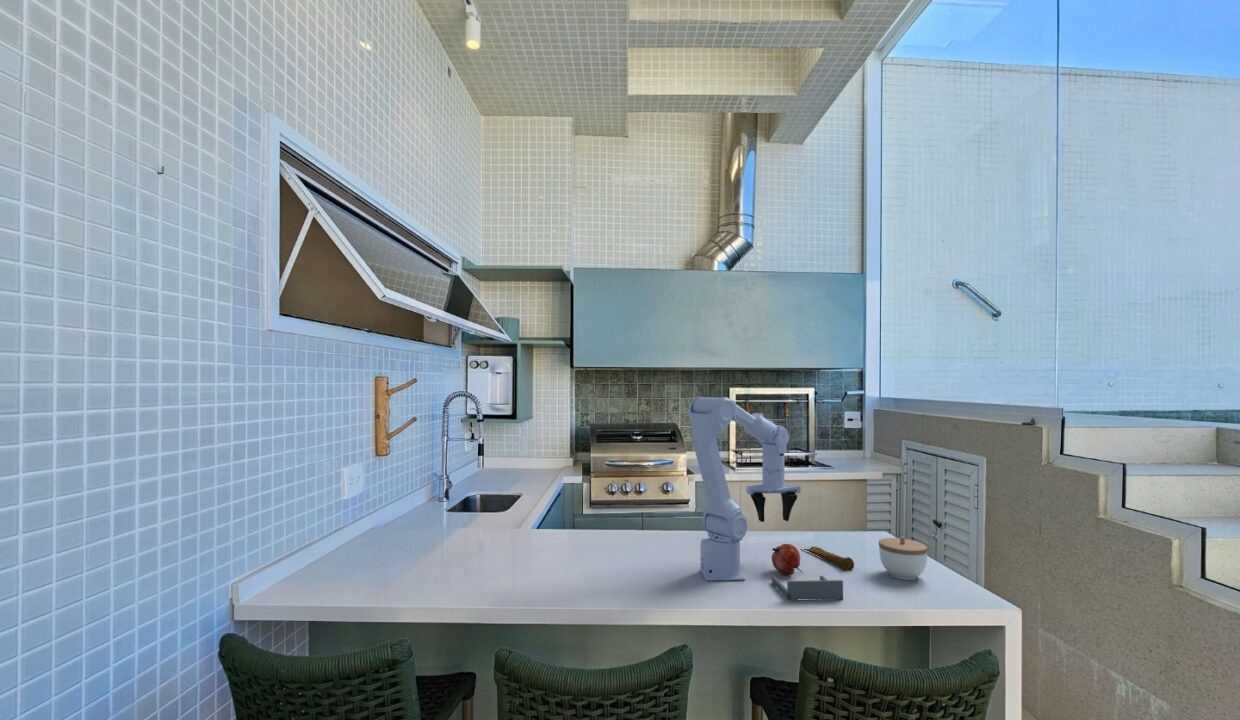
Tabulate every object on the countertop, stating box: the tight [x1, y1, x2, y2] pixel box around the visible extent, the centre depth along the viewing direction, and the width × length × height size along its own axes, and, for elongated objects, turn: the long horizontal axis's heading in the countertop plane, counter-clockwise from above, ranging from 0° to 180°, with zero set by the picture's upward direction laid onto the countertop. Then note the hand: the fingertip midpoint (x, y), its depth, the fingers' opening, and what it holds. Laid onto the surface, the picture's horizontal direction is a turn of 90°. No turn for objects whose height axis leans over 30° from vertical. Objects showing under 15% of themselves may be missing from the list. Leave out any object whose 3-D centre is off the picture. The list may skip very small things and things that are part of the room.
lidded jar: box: [878, 536, 928, 581], centre depth 136 cm, size 11×11×9 cm
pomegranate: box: [771, 543, 802, 576], centre depth 137 cm, size 7×7×10 cm
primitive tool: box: [804, 546, 855, 571], centre depth 148 cm, size 19×6×4 cm, turn 15°
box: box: [771, 575, 844, 601], centre depth 125 cm, size 12×11×4 cm
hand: (773, 520), depth 147 cm, fingers open, 6 cm apart
